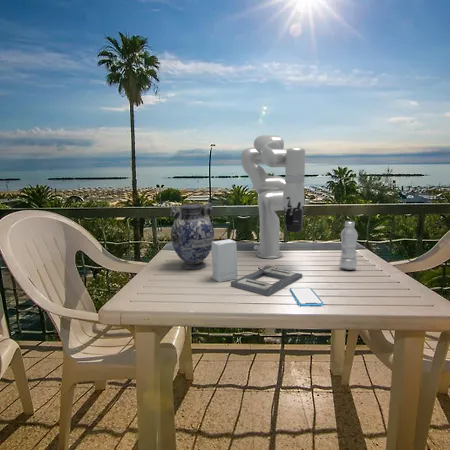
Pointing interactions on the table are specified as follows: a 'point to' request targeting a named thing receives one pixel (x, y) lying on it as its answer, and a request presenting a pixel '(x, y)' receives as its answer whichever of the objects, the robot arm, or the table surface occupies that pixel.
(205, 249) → the decorative vase
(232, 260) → the skincare box
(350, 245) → the plastic bottle
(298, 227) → the supplement bottle
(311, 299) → the smartphone
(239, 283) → the label panel
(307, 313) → the table surface
